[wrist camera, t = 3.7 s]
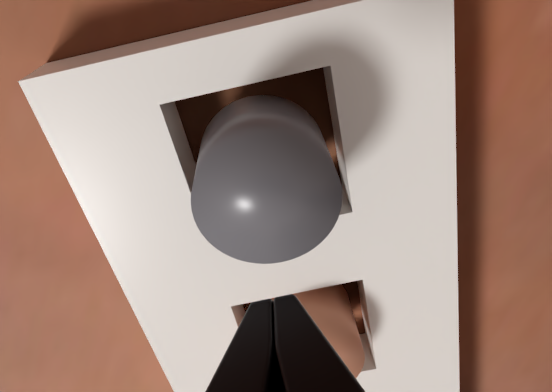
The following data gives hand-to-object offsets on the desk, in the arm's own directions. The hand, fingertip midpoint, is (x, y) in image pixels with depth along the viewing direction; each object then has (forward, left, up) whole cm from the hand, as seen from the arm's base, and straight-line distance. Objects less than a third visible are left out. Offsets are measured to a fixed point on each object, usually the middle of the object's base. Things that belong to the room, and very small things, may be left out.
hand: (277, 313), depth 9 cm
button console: (0, +8, -8) cm, 12 cm away
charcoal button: (0, 0, -7) cm, 7 cm away
